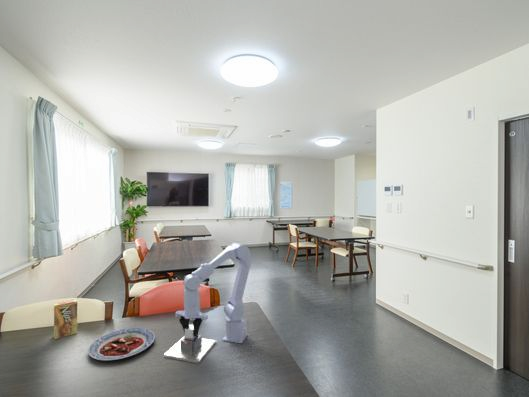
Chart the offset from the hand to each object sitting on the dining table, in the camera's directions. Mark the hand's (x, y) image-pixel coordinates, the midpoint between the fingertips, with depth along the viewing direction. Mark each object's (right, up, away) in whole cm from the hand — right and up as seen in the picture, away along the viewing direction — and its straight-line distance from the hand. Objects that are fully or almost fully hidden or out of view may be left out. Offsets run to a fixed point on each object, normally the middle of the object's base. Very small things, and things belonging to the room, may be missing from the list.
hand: (191, 334), depth 116 cm
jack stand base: (0, -6, 0) cm, 6 cm away
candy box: (-63, -6, +12) cm, 65 cm away
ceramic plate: (-31, -7, +2) cm, 31 cm away
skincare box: (-8, -7, +31) cm, 33 cm away
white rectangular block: (0, -5, 0) cm, 5 cm away
